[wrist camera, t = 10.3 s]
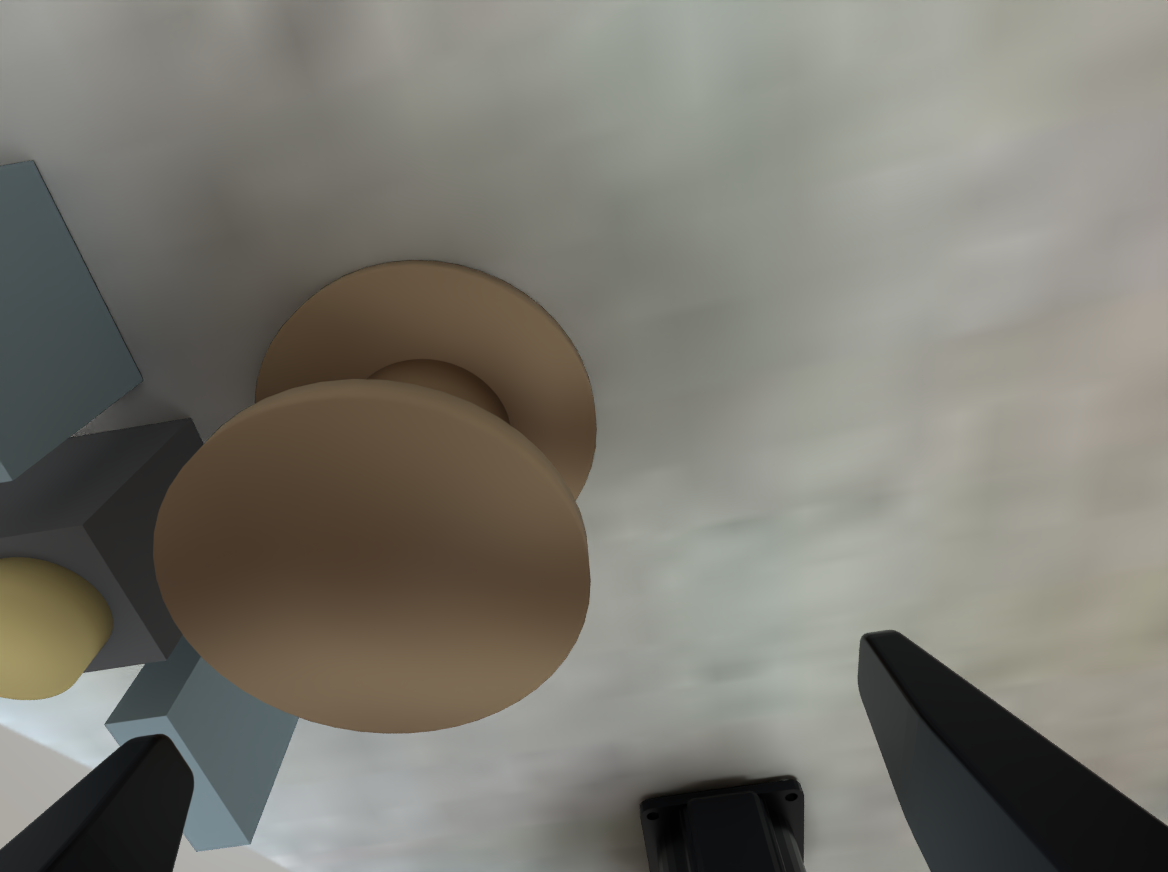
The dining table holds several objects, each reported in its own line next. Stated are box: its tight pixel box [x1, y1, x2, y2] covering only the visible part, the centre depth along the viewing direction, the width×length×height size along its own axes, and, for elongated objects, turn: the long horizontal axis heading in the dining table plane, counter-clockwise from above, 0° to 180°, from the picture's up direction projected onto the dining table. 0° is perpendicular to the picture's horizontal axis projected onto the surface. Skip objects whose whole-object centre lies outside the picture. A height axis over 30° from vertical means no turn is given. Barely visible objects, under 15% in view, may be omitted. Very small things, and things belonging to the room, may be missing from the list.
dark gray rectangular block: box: [0, 418, 204, 700], centre depth 17 cm, size 4×4×6 cm
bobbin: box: [153, 260, 597, 733], centre depth 16 cm, size 9×9×7 cm
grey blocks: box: [0, 160, 299, 852], centre depth 18 cm, size 18×2×5 cm, turn 9°
